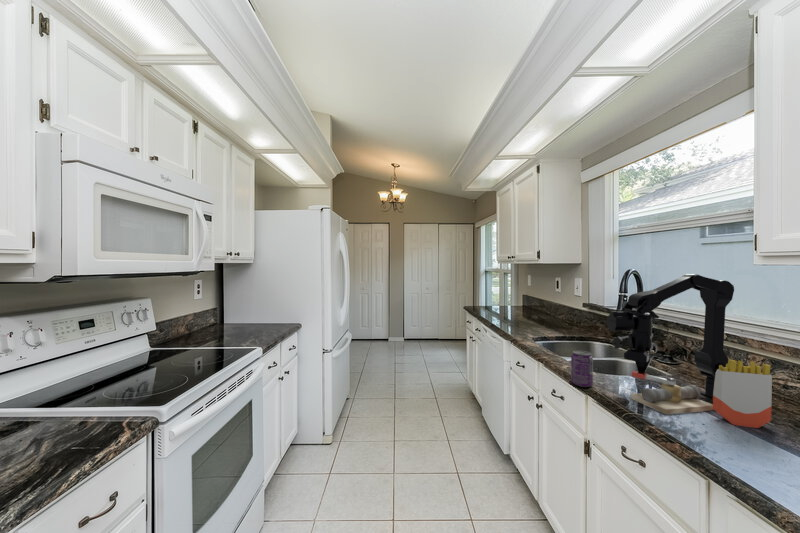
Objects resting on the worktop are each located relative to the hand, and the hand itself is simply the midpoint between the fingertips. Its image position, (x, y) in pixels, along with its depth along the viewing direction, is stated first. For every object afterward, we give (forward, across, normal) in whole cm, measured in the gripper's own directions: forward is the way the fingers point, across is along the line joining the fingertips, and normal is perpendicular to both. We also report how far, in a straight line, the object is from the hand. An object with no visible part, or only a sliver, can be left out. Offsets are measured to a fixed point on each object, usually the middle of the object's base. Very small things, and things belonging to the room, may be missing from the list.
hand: (641, 375), depth 114 cm
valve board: (+6, +3, +8) cm, 11 cm away
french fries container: (+6, +4, +24) cm, 25 cm away
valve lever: (0, +2, +4) cm, 4 cm away
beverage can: (+6, +6, -17) cm, 19 cm away
